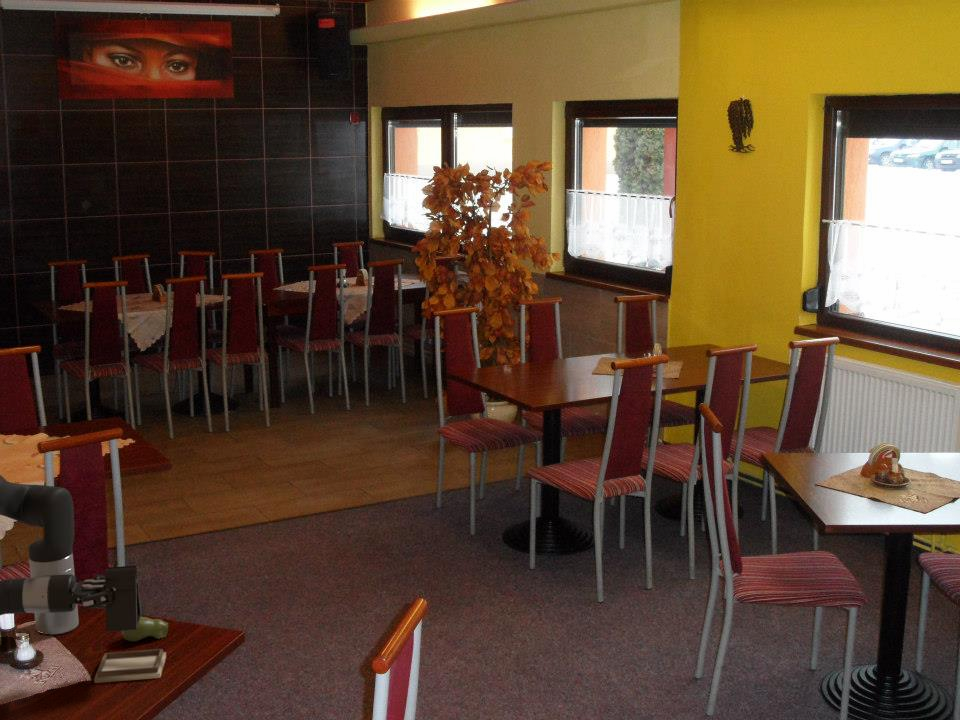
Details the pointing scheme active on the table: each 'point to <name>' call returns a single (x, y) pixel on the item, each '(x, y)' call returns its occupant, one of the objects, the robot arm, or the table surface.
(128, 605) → the phone stand
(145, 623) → the pear
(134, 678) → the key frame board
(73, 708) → the table surface
